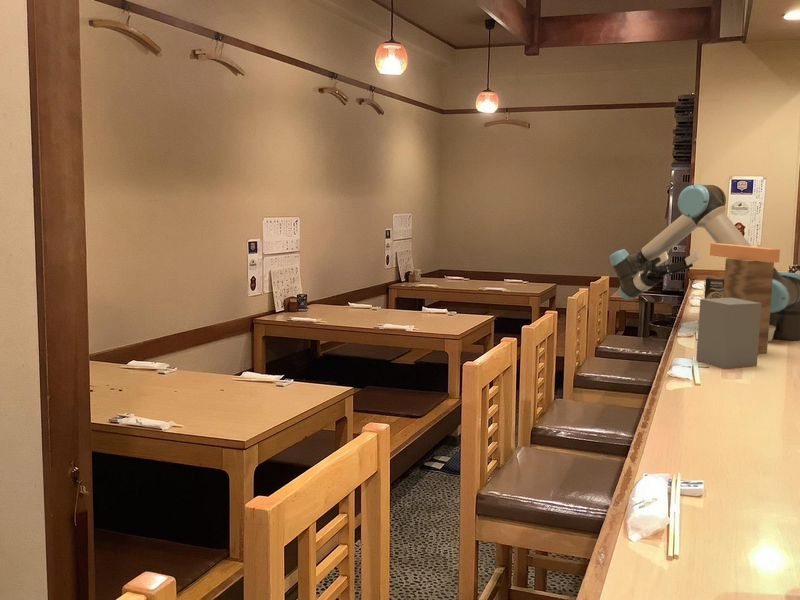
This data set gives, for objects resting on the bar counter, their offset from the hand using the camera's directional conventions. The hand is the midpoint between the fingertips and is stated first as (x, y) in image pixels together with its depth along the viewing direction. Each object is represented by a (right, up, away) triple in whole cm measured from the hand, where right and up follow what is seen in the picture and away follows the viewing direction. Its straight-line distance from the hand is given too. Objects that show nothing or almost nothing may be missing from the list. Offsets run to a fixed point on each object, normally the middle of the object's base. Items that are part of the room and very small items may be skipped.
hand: (682, 254), depth 276 cm
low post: (-2, -35, -42) cm, 55 cm away
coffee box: (+30, -23, +44) cm, 58 cm away
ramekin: (+24, -31, -5) cm, 39 cm away
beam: (+10, -3, -26) cm, 28 cm away
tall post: (+11, -33, -25) cm, 42 cm away
